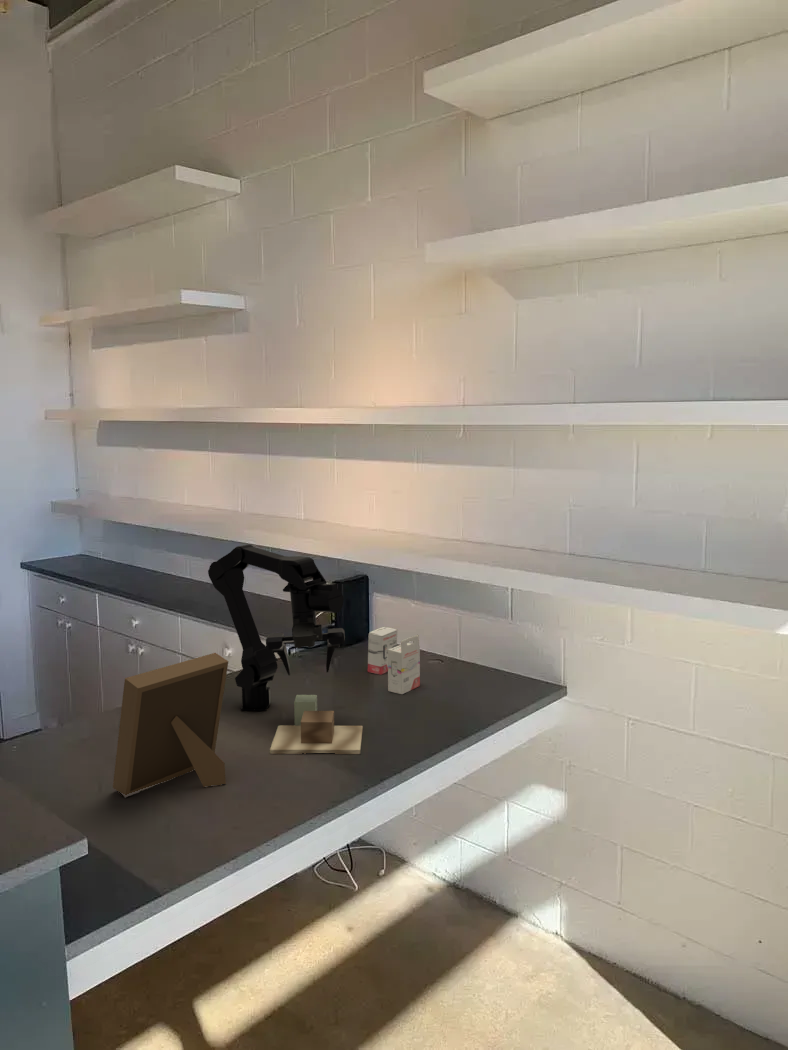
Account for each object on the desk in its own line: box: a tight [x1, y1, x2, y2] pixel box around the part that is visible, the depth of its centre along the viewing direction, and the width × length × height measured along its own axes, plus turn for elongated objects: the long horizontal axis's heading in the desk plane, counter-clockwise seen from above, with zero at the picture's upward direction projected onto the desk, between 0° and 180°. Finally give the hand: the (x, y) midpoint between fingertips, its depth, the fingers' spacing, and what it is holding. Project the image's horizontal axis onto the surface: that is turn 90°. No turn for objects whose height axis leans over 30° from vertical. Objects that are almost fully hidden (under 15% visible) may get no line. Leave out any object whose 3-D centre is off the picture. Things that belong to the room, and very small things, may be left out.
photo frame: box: [112, 652, 229, 795], centre depth 171 cm, size 15×22×25 cm
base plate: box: [269, 710, 364, 755], centre depth 195 cm, size 20×14×6 cm
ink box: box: [367, 626, 398, 676], centre depth 246 cm, size 9×5×12 cm, turn 147°
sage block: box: [293, 694, 318, 726], centre depth 206 cm, size 5×5×6 cm
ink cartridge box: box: [387, 634, 421, 695], centre depth 229 cm, size 9×5×15 cm, turn 143°
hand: (308, 673), depth 205 cm, fingers open, 9 cm apart
